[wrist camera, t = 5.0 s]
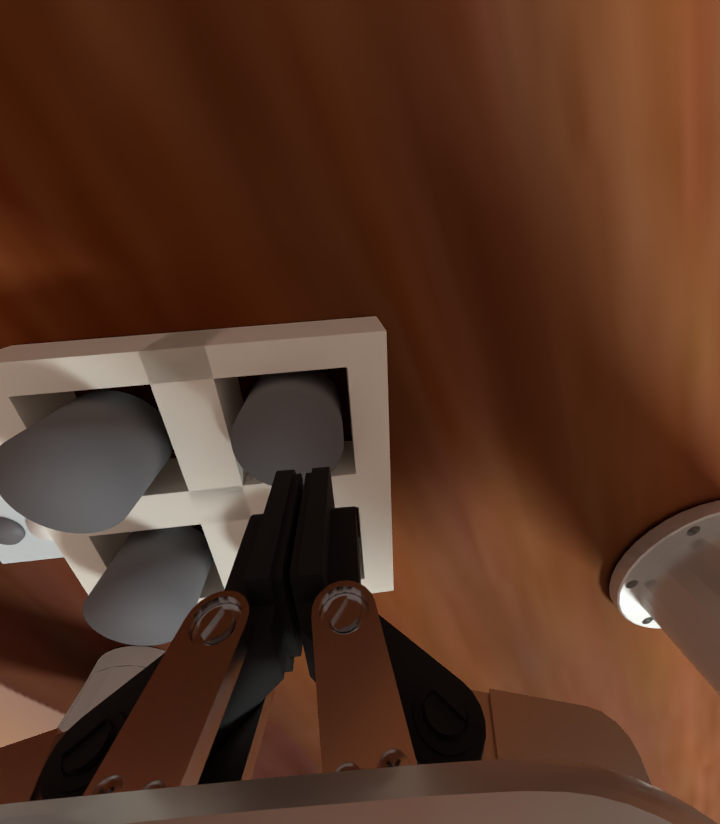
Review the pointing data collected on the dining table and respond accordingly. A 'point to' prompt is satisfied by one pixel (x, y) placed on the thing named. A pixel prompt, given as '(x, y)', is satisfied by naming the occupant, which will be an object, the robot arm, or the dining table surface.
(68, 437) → the button camera
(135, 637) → the button
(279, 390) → the camera button
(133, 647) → the cup
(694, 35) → the dining table surface
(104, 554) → the board
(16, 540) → the card
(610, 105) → the dining table surface
